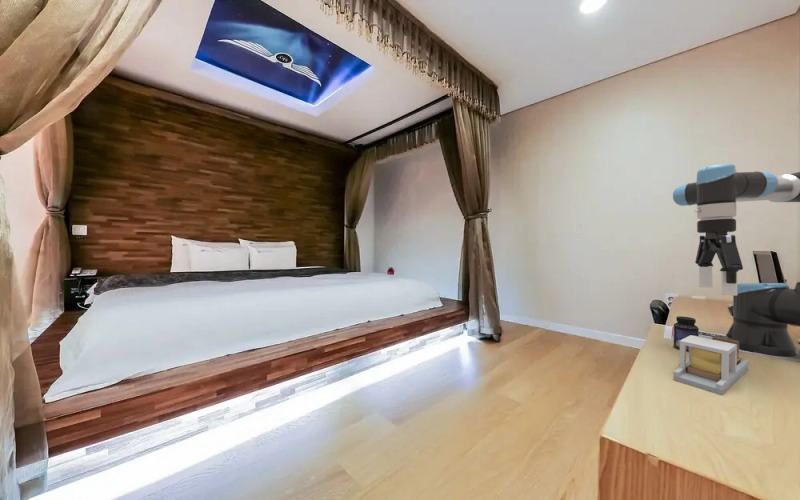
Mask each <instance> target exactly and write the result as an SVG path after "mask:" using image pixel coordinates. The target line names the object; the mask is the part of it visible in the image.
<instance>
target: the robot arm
mask: <svg viewBox="0 0 800 500" xmlns="http://www.w3.org/2000/svg"><path fill="white" fill-rule="evenodd" d="M672 199H673V201H674V203H675V204H676V205H678V206H681V207H682V206H683V207H686V206H690V207H691V206H693V205H696V209H694V212H695V213H697V214H696V217H697V219H699V220H698V221H696V227H697V229H696V231H697V233H699V234H705V235H700V236H699V243H698V247H697V252H696V258H695V264H696V265H697V266H698V287H699V288H708V289H711V288H713V266H714V264H713V263H712V262H713V260H714V258H715V255H716V256H717V258H718V260H719V263H720V265H721V268H720V270H719V272H721V273H720V274H721V276H720V279H721V281H720V282H721V284H720V285H721V290H720V291H721V295H722V296H733V299H732V301H733V303H732V306H733V307H732V308H733V310H732V311H733V315H732V317H733V318H732V319H733V320H732V324H731V325H730V327H729V329H728V331H727V332H726V334H725V338H726V339H731V340H737V341H739V349H741V350H744V351H749V352H753V353H760V354H765V355H772V356H780V357H781V356H782V357H793V356H796V355H797V348H796V345H795V343H794V341H793V339H792V337H791V335H790V332H789V330H788V325H791V326H795V327H800V280H798V281H796V283H795V284H796V285H795V287H794V288H790V286H789V284H788V283H784V282H778V283H777V282H772V283H771V282H745V283H743V282H741V283H738V272H739V271H742V270H744V266H743V263H742V259H741V257H740V252H739V249H738V246H737V242H736V235H735V234H728V233H731V232H732V233H733V232H736V231H737V220H736V218H735V217H736V216H737V202H738V203H741V202H742V203H743V202H756V201H757V202H758V201H759V202H760V201H768V202H771V203H800V171H797V172H793V173H785V174H778V175H775V174H774V173H771V172H768V171H758V170H756V171H741V172H740V171H739V172H737V168H736V165H734V164H733V163H723V164H722V163H721V164H715V165H709V166H706V167H705V166H704V167H701V168H699V170H698V171H697V173H696V181H695V182H690V183H686V184H685V183H684V184H682V185H679V186H677V187H676V188H675V189H674V191H673V192H672Z"/></svg>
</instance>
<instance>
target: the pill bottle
mask: <svg viewBox="0 0 800 500" xmlns="http://www.w3.org/2000/svg"><path fill="white" fill-rule="evenodd" d="M690 335H692V336H697V337H700V336H699V335H700V334H699V327H698V326H697V325H696V318H693V317H689V316H679V315H678V316H676V322H674V324H673V347H674V348H676V349H677V348H678V350H680V340H682V339H684V338H686V337H688V336H690ZM686 352H689V346H686Z"/></svg>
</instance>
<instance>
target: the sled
mask: <svg viewBox="0 0 800 500" xmlns="http://www.w3.org/2000/svg"><path fill="white" fill-rule="evenodd" d="M712 340H717V341H722V342H727V343H732V344H737V365H738V364H739V363H740V362H741V361H742V357H740V348H739V341H737V340H731V339H726V337H721V336H712ZM729 364H730V354H729ZM721 365H722V354H721V353H717V352H712V351H708V350H703V349H699V348H694V347H692V364H691V365H690V366H689V367H688V373H691V374H695V375H698V376H702V377H705V378H709V379H712V380H716V381H720V380H721Z"/></svg>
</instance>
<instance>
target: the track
mask: <svg viewBox="0 0 800 500" xmlns="http://www.w3.org/2000/svg"><path fill="white" fill-rule="evenodd" d="M686 346H689V351H688V362H687V351H686ZM692 347H694V348H699V349H703V350H708V351H712V352H717V353H721V354H722V365H721V380H720V381H716V380H712V379H709V378H705V377H702V376H698V375H695V374H691V373H688V367H689V366H690V365H691V364H692ZM729 354H730V364H729ZM678 361H679V367H678V368H676V369H675V370H673V374H672V375H673V376H672V378H673V379H672V380H673V381H675V382H679V383H683V384H684V385H688V386H692V387H695V388H698V389H701V390H705V391H707V392H712V393H714V394H718V395H720V396H723V394H725V393H726V392H727V390H729V389H730V388H731V387H732V386H733V385H734V384H735V383H736V382H737V381H738V380H740V378H741V377H742V376H744V374H745V373H747V371H749V361H748V360H744V359H743V360H741V361H742V362H740V363H739V364H738V365H737V344H732V343H727V342H722V341H717V340H712V339H711V338H707V337H703V336H702V337H701V336H699V337H697V336H692V335H690V336H688V337H686V338H684V339H682V340H680V349H679V360H678Z"/></svg>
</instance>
